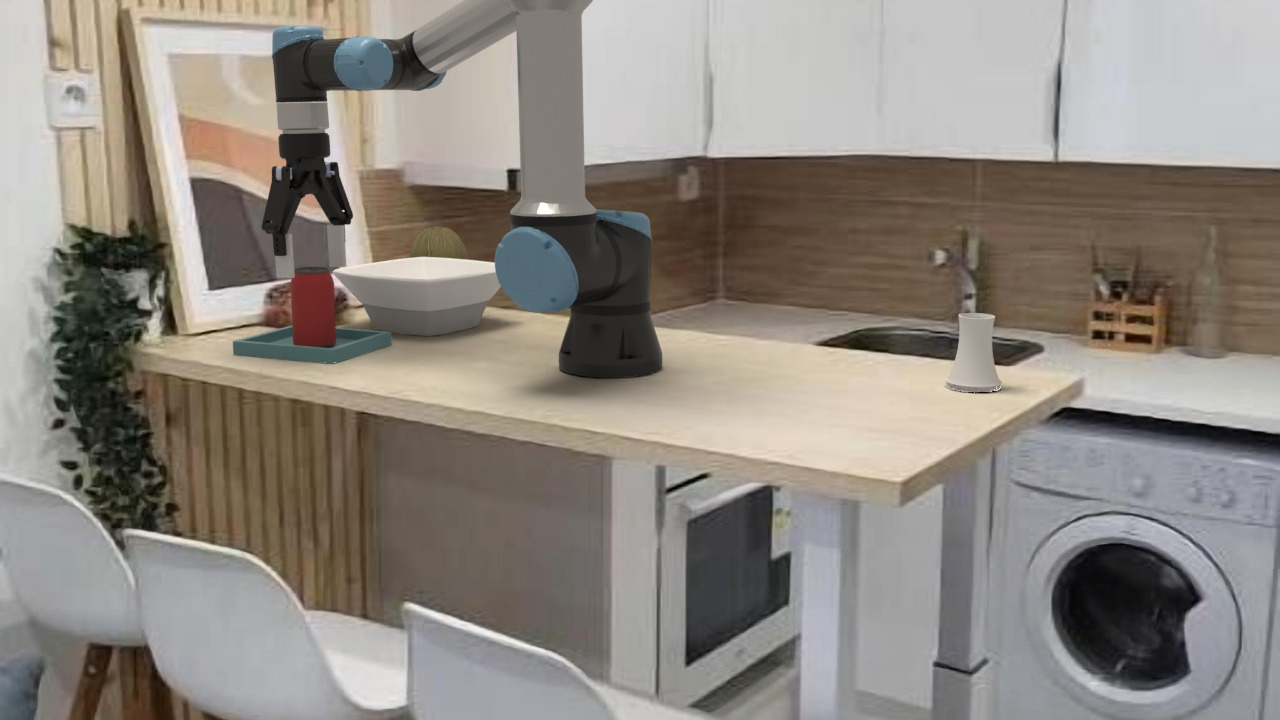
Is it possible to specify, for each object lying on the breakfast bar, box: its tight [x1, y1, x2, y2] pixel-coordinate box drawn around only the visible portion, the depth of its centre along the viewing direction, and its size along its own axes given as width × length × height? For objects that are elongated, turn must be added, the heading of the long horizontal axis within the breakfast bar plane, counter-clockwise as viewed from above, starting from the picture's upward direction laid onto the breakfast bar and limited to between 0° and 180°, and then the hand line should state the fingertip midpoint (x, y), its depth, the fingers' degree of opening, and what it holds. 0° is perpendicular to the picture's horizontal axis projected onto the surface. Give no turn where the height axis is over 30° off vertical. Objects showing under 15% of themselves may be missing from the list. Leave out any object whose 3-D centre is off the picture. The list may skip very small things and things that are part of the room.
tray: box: [232, 324, 392, 364], centre depth 214 cm, size 18×16×2 cm
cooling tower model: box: [944, 312, 1003, 394], centre depth 188 cm, size 8×8×10 cm
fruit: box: [408, 225, 470, 260], centre depth 254 cm, size 11×11×15 cm
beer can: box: [290, 266, 337, 348], centre depth 213 cm, size 7×7×12 cm
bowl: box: [332, 257, 502, 337], centre depth 233 cm, size 24×25×10 cm
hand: (312, 272), depth 212 cm, fingers open, 13 cm apart
